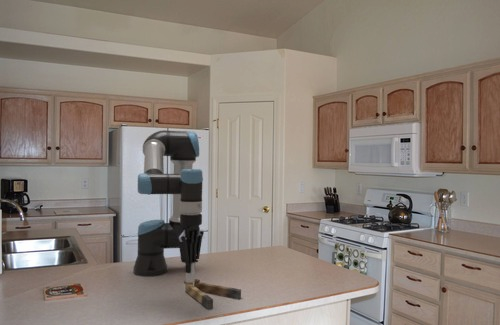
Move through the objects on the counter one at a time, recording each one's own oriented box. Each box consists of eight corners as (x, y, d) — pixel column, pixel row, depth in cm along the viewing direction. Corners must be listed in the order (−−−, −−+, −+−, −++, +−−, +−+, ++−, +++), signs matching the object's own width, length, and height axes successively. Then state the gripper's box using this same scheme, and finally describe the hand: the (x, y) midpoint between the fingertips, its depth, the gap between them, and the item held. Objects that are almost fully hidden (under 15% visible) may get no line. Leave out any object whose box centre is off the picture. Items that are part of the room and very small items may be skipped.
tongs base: (184, 290, 157) (184, 280, 157) (189, 287, 161) (189, 277, 161) (236, 300, 147) (236, 290, 147) (240, 297, 150) (241, 287, 150)
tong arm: (183, 290, 157) (184, 280, 157) (188, 289, 158) (188, 280, 158) (207, 308, 138) (207, 298, 138) (212, 307, 139) (213, 297, 139)
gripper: (189, 216, 131) (187, 288, 131) (210, 212, 142) (209, 278, 142) (170, 214, 134) (169, 284, 134) (193, 210, 146) (192, 275, 146)
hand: (190, 281), depth 138 cm, fingers closed
